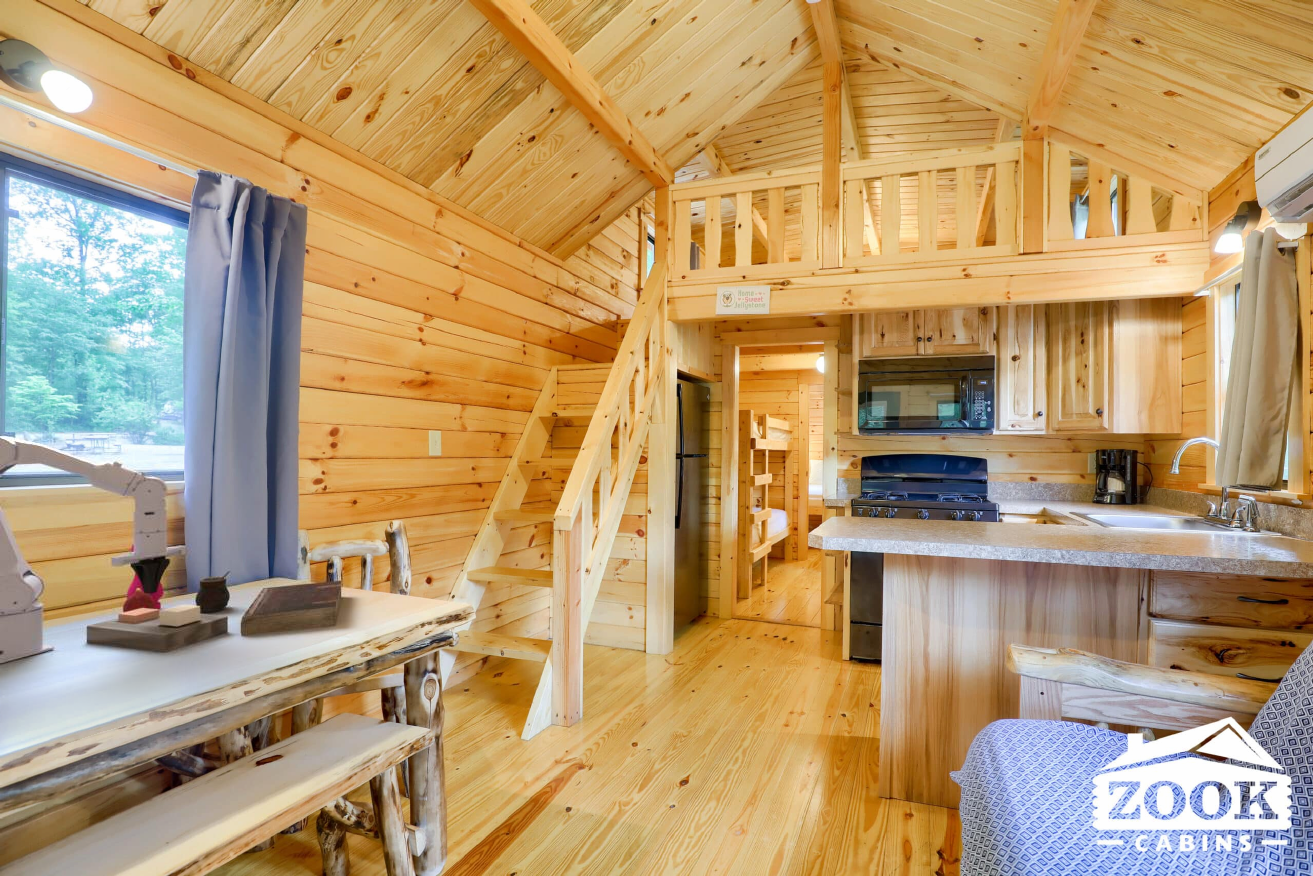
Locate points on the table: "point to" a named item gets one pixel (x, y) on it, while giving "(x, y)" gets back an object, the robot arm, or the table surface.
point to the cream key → (179, 615)
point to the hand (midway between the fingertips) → (150, 592)
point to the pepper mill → (137, 584)
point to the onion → (138, 601)
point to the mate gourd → (212, 594)
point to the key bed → (156, 633)
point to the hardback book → (293, 608)
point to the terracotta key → (138, 615)
